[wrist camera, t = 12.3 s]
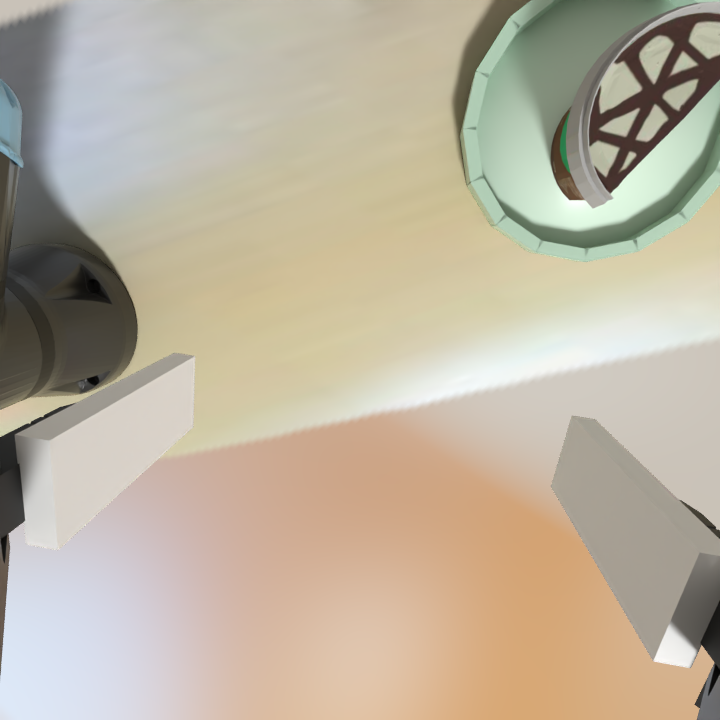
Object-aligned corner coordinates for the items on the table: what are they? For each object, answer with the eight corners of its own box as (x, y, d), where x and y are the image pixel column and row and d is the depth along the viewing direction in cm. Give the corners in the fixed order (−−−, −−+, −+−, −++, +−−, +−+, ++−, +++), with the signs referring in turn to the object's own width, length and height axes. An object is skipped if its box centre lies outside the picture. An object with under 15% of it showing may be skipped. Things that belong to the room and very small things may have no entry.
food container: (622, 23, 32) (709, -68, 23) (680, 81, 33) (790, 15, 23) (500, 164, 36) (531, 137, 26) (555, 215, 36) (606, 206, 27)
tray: (437, 234, 39) (438, 234, 36) (498, -37, 33) (505, -59, 31) (669, 278, 37) (686, 281, 35) (774, 3, 32) (803, -16, 29)
